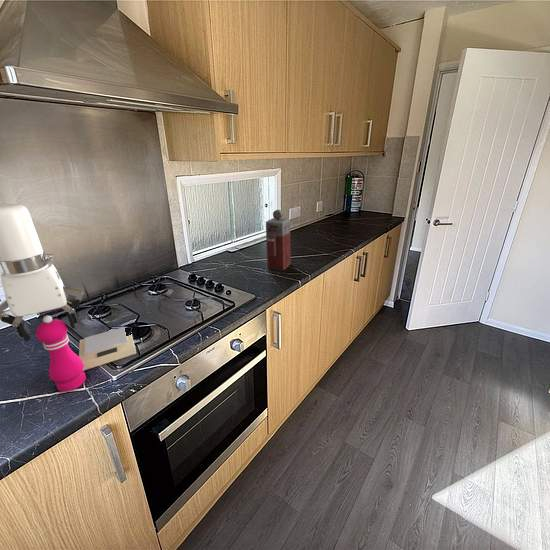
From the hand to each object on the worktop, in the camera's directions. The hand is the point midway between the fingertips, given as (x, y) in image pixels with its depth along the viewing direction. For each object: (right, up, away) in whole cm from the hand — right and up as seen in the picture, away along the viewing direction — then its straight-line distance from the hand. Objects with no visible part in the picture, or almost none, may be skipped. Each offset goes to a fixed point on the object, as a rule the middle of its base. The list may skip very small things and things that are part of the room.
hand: (51, 331), depth 70 cm
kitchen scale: (+3, -9, +18) cm, 21 cm away
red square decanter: (+55, +17, +77) cm, 96 cm away
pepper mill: (+1, -15, +6) cm, 16 cm away
